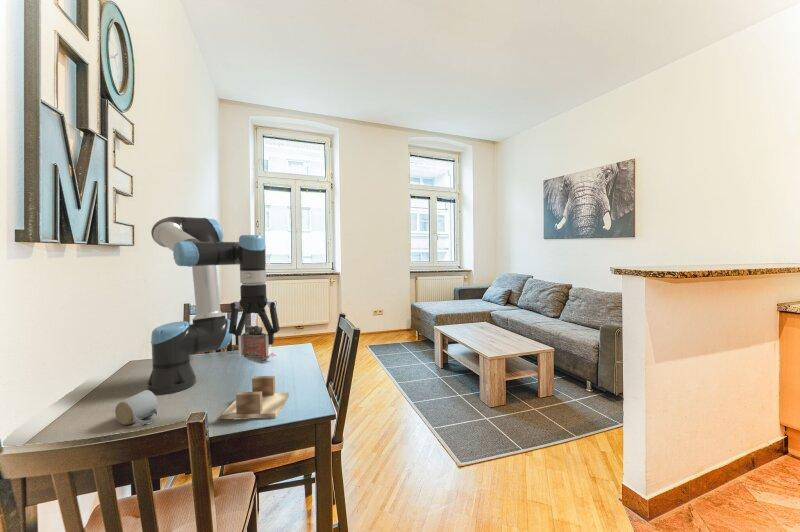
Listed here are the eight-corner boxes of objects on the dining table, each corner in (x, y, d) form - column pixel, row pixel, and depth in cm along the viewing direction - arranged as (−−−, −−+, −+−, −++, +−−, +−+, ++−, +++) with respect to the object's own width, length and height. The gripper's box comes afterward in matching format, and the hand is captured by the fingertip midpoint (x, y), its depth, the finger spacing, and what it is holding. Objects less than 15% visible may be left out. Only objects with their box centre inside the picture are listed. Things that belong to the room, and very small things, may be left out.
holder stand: (221, 419, 103) (220, 395, 103) (241, 398, 118) (240, 376, 118) (275, 418, 104) (275, 393, 104) (288, 396, 119) (288, 375, 119)
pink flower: (246, 362, 160) (269, 361, 153) (245, 349, 160) (267, 348, 153) (257, 358, 166) (280, 357, 159) (256, 346, 166) (278, 345, 159)
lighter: (269, 356, 110) (268, 325, 110) (261, 359, 107) (260, 328, 107) (249, 354, 113) (248, 324, 112) (241, 357, 110) (240, 326, 109)
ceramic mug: (113, 424, 101) (112, 398, 100) (141, 411, 108) (140, 388, 108) (139, 430, 97) (138, 404, 97) (166, 417, 105) (166, 392, 105)
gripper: (214, 285, 105) (216, 359, 106) (282, 284, 106) (284, 357, 107) (225, 283, 112) (227, 352, 113) (289, 282, 113) (290, 350, 114)
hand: (255, 354), depth 110 cm, fingers closed on lighter, 8 cm apart
